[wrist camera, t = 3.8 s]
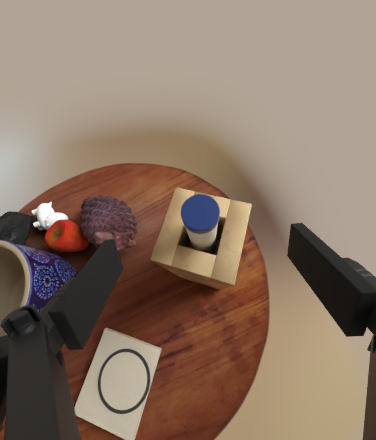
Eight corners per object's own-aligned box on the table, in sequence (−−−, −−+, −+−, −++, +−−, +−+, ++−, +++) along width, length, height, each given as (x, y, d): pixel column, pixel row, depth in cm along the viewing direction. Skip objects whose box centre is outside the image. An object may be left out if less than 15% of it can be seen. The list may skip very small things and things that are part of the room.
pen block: (229, 249, 40) (251, 203, 20) (220, 289, 38) (234, 285, 17) (191, 239, 42) (175, 187, 21) (180, 277, 39) (149, 259, 19)
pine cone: (72, 225, 45) (60, 186, 39) (114, 211, 51) (109, 175, 45) (105, 279, 36) (96, 238, 30) (153, 254, 41) (153, 216, 35)
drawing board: (161, 348, 36) (160, 350, 35) (134, 439, 32) (132, 444, 31) (107, 327, 38) (104, 328, 37) (75, 410, 34) (71, 414, 33)
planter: (61, 240, 44) (-5, 216, 31) (108, 293, 40) (54, 293, 26) (-2, 300, 41) (-109, 304, 27) (40, 366, 36) (-64, 411, 22)
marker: (217, 241, 27) (224, 198, 15) (211, 262, 26) (214, 234, 14) (196, 235, 28) (186, 190, 15) (190, 255, 27) (175, 224, 15)
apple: (73, 262, 42) (39, 253, 36) (71, 237, 45) (39, 225, 39) (97, 249, 42) (67, 238, 35) (94, 225, 45) (66, 210, 38)
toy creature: (31, 232, 40) (63, 221, 42) (28, 201, 44) (58, 192, 45) (45, 240, 44) (74, 230, 46) (41, 211, 48) (68, 203, 49)
